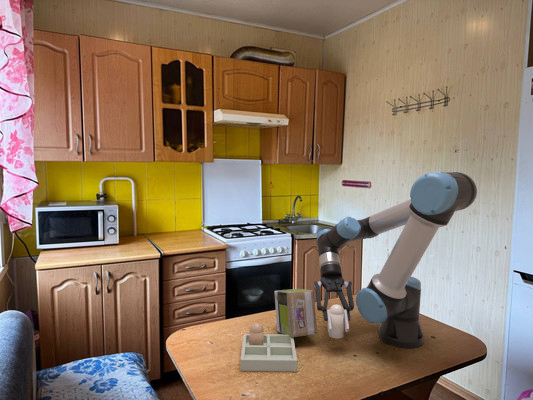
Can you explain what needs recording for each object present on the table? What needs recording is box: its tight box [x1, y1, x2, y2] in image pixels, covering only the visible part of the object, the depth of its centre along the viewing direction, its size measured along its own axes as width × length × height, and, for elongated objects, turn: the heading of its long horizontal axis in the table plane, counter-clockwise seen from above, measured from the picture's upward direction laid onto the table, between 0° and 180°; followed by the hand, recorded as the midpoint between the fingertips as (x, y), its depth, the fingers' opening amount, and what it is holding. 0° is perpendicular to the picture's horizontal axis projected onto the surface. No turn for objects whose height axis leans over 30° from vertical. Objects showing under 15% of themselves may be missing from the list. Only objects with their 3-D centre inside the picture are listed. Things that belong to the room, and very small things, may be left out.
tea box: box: [274, 288, 318, 338], centre depth 135 cm, size 15×10×15 cm
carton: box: [240, 322, 298, 373], centre depth 120 cm, size 17×17×9 cm
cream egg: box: [328, 303, 345, 339], centre depth 125 cm, size 5×5×10 cm
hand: (338, 330), depth 121 cm, fingers closed on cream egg, 5 cm apart
